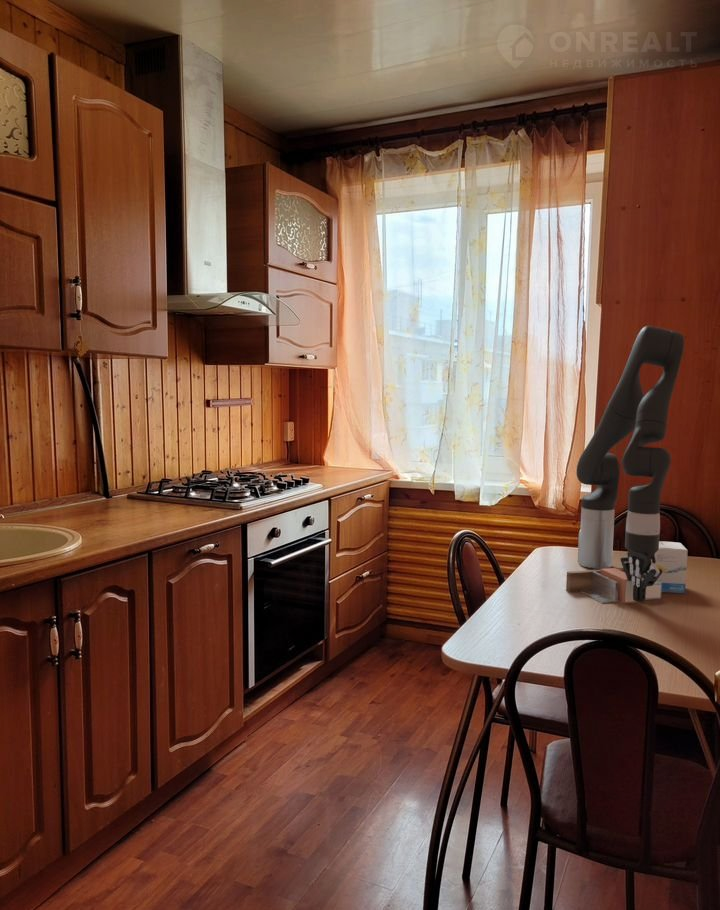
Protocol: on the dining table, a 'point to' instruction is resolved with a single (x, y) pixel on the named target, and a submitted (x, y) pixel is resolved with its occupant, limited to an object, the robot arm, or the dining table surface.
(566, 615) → the dining table surface
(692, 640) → the dining table surface
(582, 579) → the shelf wall
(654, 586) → the flat book
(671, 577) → the ink box
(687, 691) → the dining table surface
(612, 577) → the boxed book
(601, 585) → the bookend
